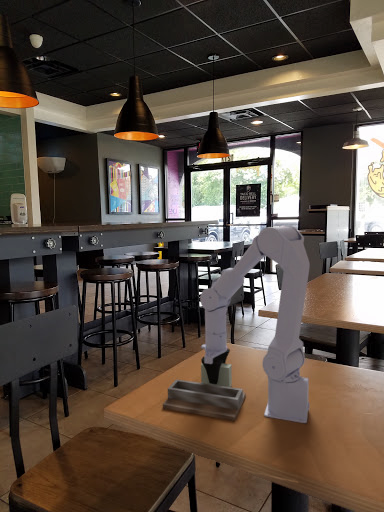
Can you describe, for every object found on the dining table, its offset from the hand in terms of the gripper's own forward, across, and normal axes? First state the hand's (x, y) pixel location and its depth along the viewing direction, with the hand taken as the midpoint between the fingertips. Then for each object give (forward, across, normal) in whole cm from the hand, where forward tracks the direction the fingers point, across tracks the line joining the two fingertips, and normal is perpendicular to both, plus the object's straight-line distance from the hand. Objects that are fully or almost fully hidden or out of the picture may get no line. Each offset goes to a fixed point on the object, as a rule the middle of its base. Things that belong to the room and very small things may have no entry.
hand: (216, 378), depth 102 cm
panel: (+2, 0, 0) cm, 2 cm away
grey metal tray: (+2, +10, 0) cm, 10 cm away
